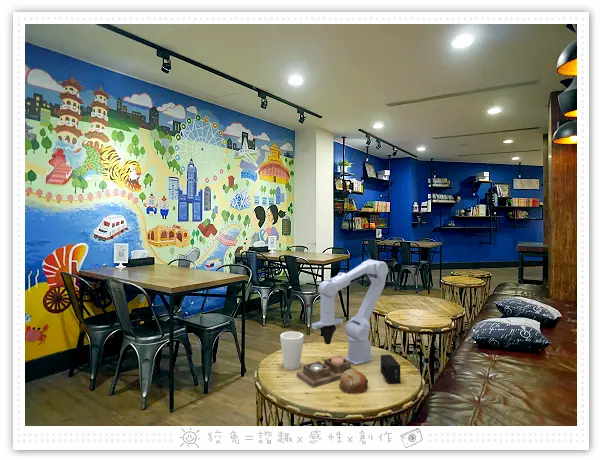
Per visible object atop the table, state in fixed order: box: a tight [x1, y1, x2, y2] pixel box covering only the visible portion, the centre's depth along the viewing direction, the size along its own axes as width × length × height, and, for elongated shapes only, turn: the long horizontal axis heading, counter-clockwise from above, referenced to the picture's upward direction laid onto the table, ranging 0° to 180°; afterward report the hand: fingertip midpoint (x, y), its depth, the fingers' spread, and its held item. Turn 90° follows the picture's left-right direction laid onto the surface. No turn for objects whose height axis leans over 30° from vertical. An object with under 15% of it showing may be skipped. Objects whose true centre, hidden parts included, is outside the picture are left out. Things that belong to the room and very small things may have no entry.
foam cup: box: [279, 331, 305, 371], centre depth 144 cm, size 10×9×13 cm
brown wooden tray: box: [296, 355, 358, 389], centre depth 137 cm, size 21×11×4 cm, turn 123°
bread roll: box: [338, 369, 369, 394], centre depth 127 cm, size 10×10×8 cm
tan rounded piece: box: [330, 356, 344, 365], centre depth 139 cm, size 5×5×3 cm
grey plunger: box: [310, 364, 323, 371], centre depth 134 cm, size 5×5×3 cm
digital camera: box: [380, 354, 401, 385], centre depth 135 cm, size 10×5×7 cm, turn 5°
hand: (327, 343), depth 145 cm, fingers closed
